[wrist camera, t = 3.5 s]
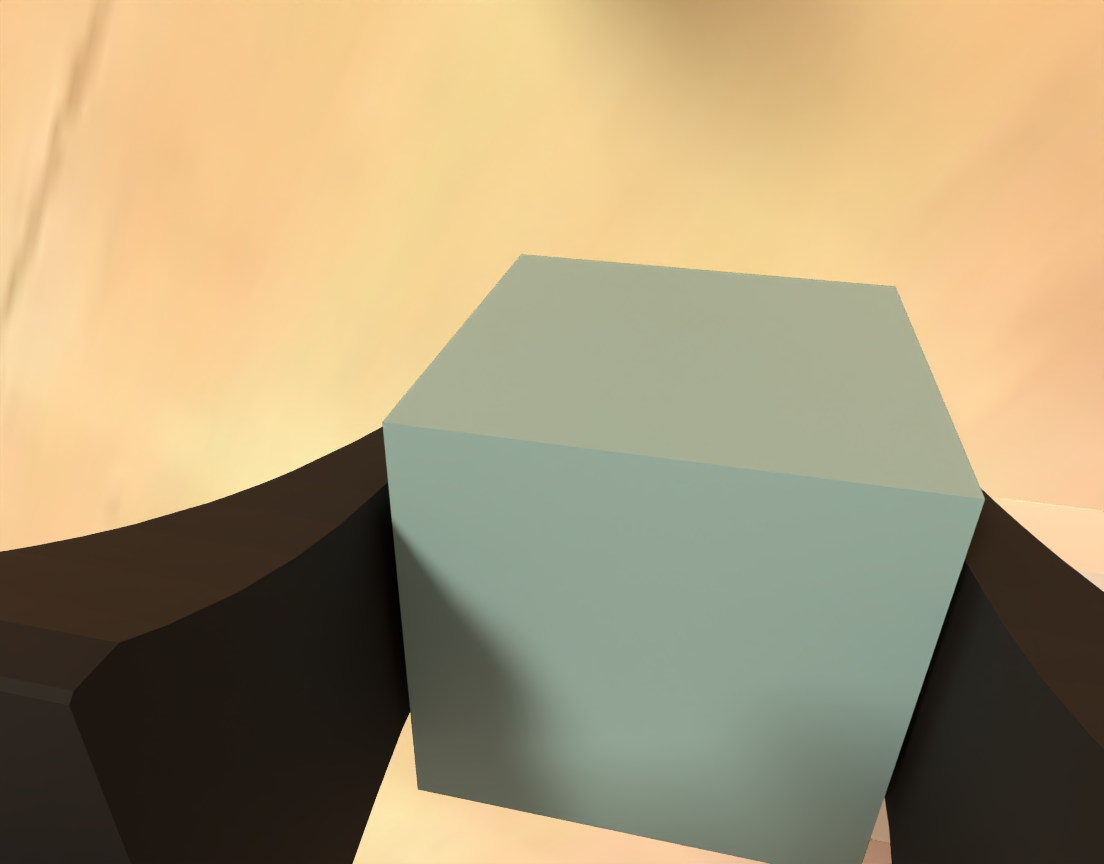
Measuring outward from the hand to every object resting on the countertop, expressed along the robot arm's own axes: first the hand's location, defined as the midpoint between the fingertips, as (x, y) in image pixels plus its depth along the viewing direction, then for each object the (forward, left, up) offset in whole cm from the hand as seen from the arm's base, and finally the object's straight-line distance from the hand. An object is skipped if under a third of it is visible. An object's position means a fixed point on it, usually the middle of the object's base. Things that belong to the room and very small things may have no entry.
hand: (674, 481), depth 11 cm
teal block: (0, 0, -2) cm, 2 cm away
